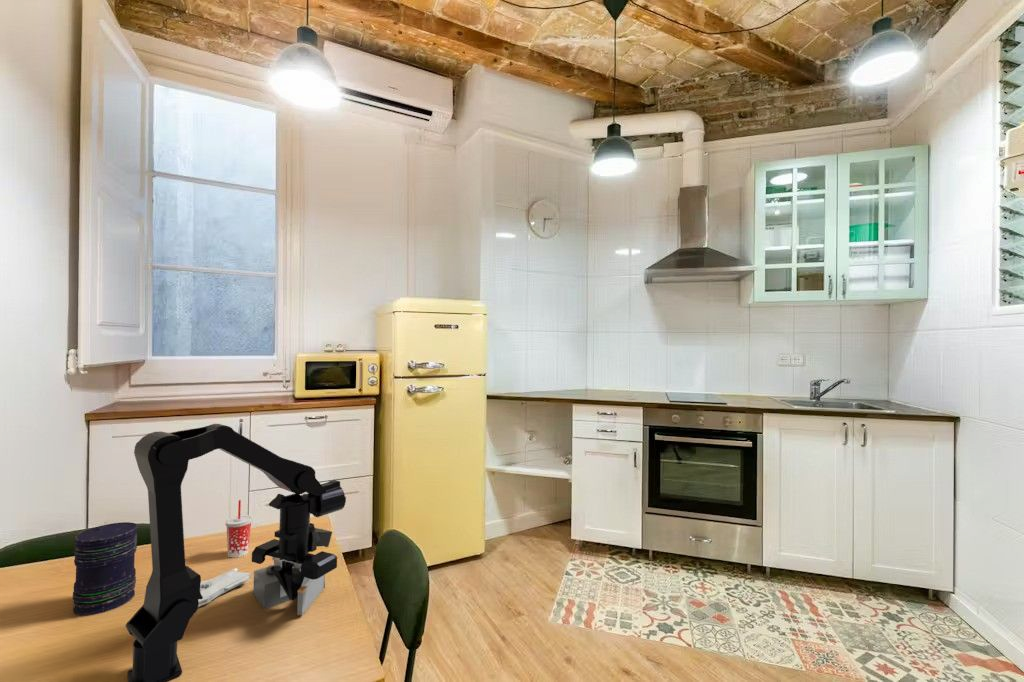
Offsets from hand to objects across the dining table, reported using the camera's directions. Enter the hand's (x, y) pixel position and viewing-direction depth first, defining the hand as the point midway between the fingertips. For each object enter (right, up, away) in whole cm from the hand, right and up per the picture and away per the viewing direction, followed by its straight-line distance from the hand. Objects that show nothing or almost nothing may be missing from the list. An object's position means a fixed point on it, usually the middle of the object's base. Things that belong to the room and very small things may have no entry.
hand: (293, 599), depth 92 cm
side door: (+3, -1, +2) cm, 4 cm away
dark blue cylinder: (-41, -2, +1) cm, 41 cm away
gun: (-22, -2, +3) cm, 23 cm away
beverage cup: (-26, -2, +24) cm, 36 cm away
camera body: (-4, -2, +6) cm, 8 cm away
